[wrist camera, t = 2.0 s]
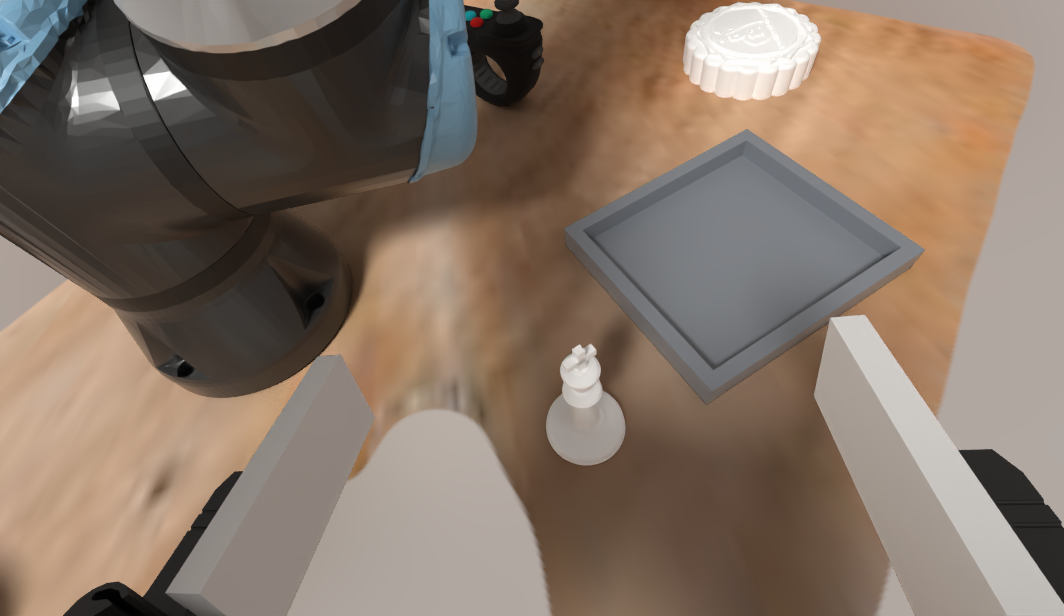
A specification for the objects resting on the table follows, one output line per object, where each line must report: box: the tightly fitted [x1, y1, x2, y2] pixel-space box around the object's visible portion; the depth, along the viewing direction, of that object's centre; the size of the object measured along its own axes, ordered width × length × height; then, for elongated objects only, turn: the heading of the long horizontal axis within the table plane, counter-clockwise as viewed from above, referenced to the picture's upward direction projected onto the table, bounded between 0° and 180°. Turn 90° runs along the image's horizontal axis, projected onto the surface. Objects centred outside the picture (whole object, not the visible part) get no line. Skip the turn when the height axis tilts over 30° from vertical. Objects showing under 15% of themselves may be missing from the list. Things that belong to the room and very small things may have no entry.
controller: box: [464, 0, 544, 105], centre depth 47 cm, size 4×12×10 cm, turn 57°
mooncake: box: [683, 2, 821, 101], centre depth 48 cm, size 12×12×4 cm
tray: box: [564, 129, 925, 405], centre depth 36 cm, size 16×18×2 cm
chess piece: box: [546, 344, 626, 465], centre depth 27 cm, size 5×5×10 cm
